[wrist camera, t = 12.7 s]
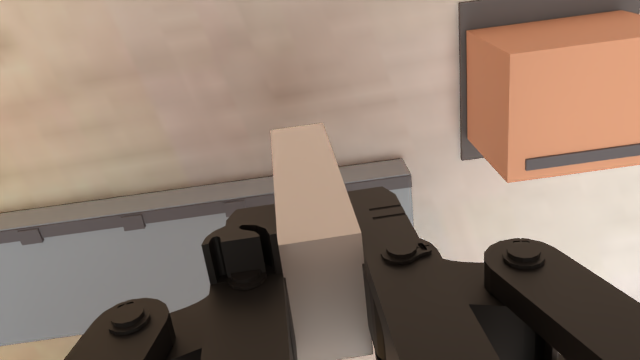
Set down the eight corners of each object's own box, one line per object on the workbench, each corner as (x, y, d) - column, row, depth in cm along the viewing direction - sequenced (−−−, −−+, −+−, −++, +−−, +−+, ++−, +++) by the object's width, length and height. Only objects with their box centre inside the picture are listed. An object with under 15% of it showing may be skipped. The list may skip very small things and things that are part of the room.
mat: (461, 159, 24) (462, 160, 24) (458, 3, 22) (460, 3, 21) (623, 136, 24) (625, 138, 24) (640, -22, 22) (643, -21, 22)
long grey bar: (-75, 334, 26) (-99, 362, 24) (-128, 230, 24) (-157, 253, 22) (408, 267, 26) (418, 289, 25) (402, 158, 24) (411, 175, 22)
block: (467, 138, 24) (508, 184, 19) (466, 30, 22) (511, 55, 18) (610, 119, 24) (681, 160, 20) (621, 10, 22) (702, 29, 18)
